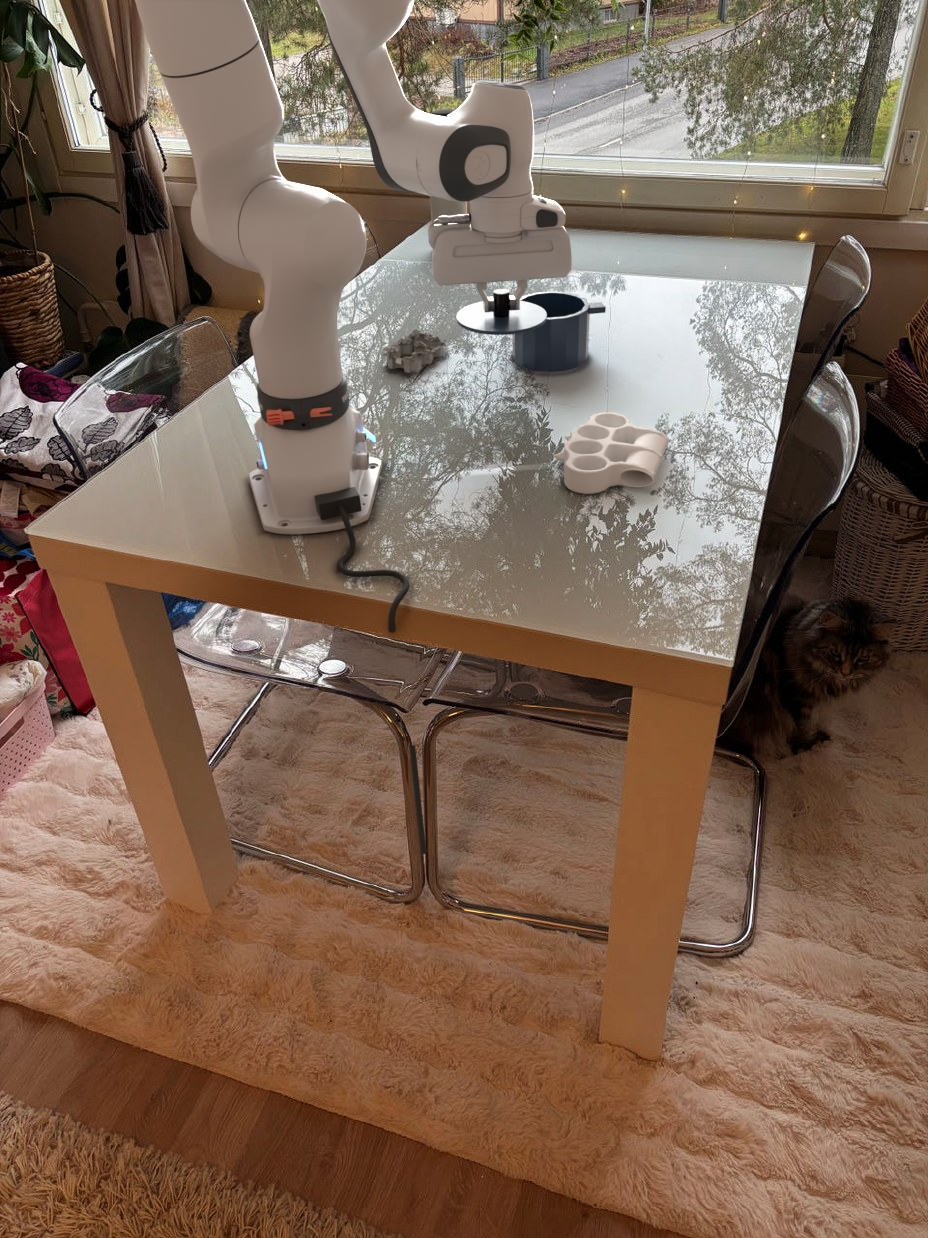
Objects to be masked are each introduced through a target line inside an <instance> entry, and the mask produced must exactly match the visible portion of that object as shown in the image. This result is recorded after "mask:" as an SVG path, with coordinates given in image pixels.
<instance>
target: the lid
mask: <svg viewBox="0 0 928 1238" xmlns="http://www.w3.org/2000/svg"><path fill="white" fill-rule="evenodd" d="M509 296H510V290H509V289H506V288H497V289H494V290H493V291H492V297H493V299H494V308H495V310H494V312H484V309H483V300H482V301H478V302H477V301H476V302H474V303H471V304H468V305H466V306H464V307H461V308H460V309H459V310H458V311H457V312H456V315H455V321H456V323H457V324H458V326H460V327H461V328H462V329H465V330H467V331H470V332H473V333H476V334H481V335H490V336H506V335H507V336H509V335H513V334H518V333H523V332H527V331H531V330H534V329H536V328H538V327H540V326H542V325H543V324H544V323H545V322H546V320H547V313H546V311H545V310H544V309H543V308H542V307H540V306H538V305H536V304H533V303H529V302H525V301H520V310H512V311H510V310H509Z"/></svg>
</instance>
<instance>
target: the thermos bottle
mask: <svg viewBox="0 0 928 1238" xmlns="http://www.w3.org/2000/svg"><path fill="white" fill-rule="evenodd" d="M455 110H456V109H451V108H443V109H442V108H441V109H440V108H439V109H434V110H432V111H431V114H432V115H438V116H444V117H448V116H447V115H449V114H451V113H452V112H454V111H455ZM429 204H430V211H431V212H430V216H431V219H430V220H431V221H430V222H431V223H432V222H433V221H434V220H436V219H438V217H440V216H455V215H462V214H468V201H467V202H455V201H451V200H446V199H442V198H437V197H433V196H429ZM431 223H430V224H431ZM435 224H439V223H438V222H437V223H435Z"/></svg>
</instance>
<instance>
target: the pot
mask: <svg viewBox="0 0 928 1238" xmlns="http://www.w3.org/2000/svg"><path fill="white" fill-rule="evenodd" d="M520 301H525V302H529V303H533V304H536V305H538V306H540V307H542V308H543V309H544V310H545V311H546V313H547V320H546V322H545V323H544V324H543V325H542V326H540V327H538V328H536V329H534V330H531V331H527V332H523V333H518V334H512V359H513V361H514V363H515V364H516V365H518V366H519V367H521V368H522V369H525V370H530V371H533V372H543V373H557V372H566V371H569V370H573V369H577V368H579V367H580V366H582V365H583V364H585V363H586V362H587V359H588V357H589V342H590V341H589V340H590V339H589V338H590V337H589V336H590V316H591V315H595V314H605V313H606V311H607V310H606V308H607V307H606V305H605V303H604V302H603V301H597V302H596V301H595V302H589V300H588V299H587V298H585V297H583V296H582V295H579V294H577V293H572V292H567V291H552V290H549V291H539V292H533V293H529V294H525V295H523V296H522V297H521V299H520Z"/></svg>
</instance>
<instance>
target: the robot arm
mask: <svg viewBox="0 0 928 1238" xmlns="http://www.w3.org/2000/svg"><path fill="white" fill-rule="evenodd" d="M316 1H317V2H318V5H319V7H320V10H321V12H322V14H323V16H324V19H325V27H326V34H327V37H328V40H329V41H328V42H329V44H330V47H331V49H332V52H333V55H334V57H335V60H336V62H337V65H338V67H339V69H340V72H341V74H342V76H343V79H344V80H345V83H346V85H347V88H348V90H349V92H350V95H351V96H352V98H353V101H354V103H355V105H356V108H357V110H358V112H359V114H360V117H361V119H362V122H363V124H364V127H365V129H366V134H367V137H368V141H369V148H370V153H371V158H372V161H373V164H374V167H375V171H376V172H377V174H378V176H379V178H380V179H381V181H382V182H383V183H384V184H385V185H387V187H389V188H390V189H393V190H394V191H398V192H404V193H405V192H407V193H414V194H416V193H417V194H421V195H425V196H429V197H430V196H433V197H437V198H442V199H446V200H451V201H455V202H467V203H468V202H469V213H467V214H462V215H455V216H440V217H438V219H436V220H434V221H433V222H432V223H430V224H429V226H428V231H427V233H428V243H429V246H430V247H431V249H432V255H431V276H432V279H433V281H434V282H435V283H436V284H437V285H438V286H440V287H444V286H458V285H472V284H475V286H474V287H475V288H476V291H477V293H478V294H479V295H480V297H481V299H482V301H483V309H484V312H494V310H495V308H494V299H493V296H487V294H486V292H485V291H486V290H487V289H488V288H487V286H488V285H487V283H488V284H489V283H503V282H514V281H515V284H516V285H517V287H516V290H515V291H514V293H513V295H509V310H510V311H512V310H520V299H521V297H523V296H524V294H525V292H526V290H527V289H528V282H529V280H530V281H531V280H533V281H534V280H544V279H547V280H548V279H559V278H566V277H567V276H568V275H569V274H570V273H571V271H572V266H573V265H572V264H573V262H572V261H573V260H572V259H573V258H572V257H573V255H572V243H571V237H570V234H569V232H568V231H567V230H566V228H565V224H566V213H565V211H564V209H563V207H562V206H561V205H560V204H559V203H558V202H556V201H555V200H553V199H549V198H545V197H542V196H538V195H535V194H534V184H533V179H532V175H531V169H532V162H533V159H534V155H535V152H534V151H535V129H534V113H533V105H532V99H531V97H530V93H529V91H528V90H527V89H526V88H525V87H524V86H522V85H520V84H518V83H511V82H509V83H508V82H502V81H498V80H497V81H496V80H489V79H481V80H479V81H476V82H474V83H472V86H471V90H470V93H469V95H468V96H467V98H466V99H465V100H464V101H463V102H462V104H461V105H459V106H458V108H456V109H454V110H455V111H454V112H452V113H451V114H449V115H447V116H448V117H444V116H438V115H432V113H428V112H424V111H423V110H421V109H420V108H418V107H416V106H414V105H413V104H412V103H410V101H409V100H408V99H407V97H406V96H405V93H404V91H403V88H402V85H401V83H400V80H399V78H398V75H397V73H396V70H395V67H394V65H393V62H392V59H391V58H390V55H389V53H388V49H387V44H386V43H387V42H388V41H389V40H391V38H393V36H394V35H396V34H397V32H398V31H400V29H401V28H402V27H403V25H404V24H405V22H406V21H407V19H408V18H409V17H410V13H411V11H412V9H413V6H414V3H415V0H316ZM134 2H135V6H136V9H137V13H138V16H139V19H140V23H141V26H142V29H143V32H144V36H145V39H146V41H147V43H148V46H149V49H150V52H151V54H152V57H153V59H154V63H155V64H156V67H157V70H158V72H159V75H160V76H161V79H162V81H163V84H164V86H165V88H166V91H167V93H168V96H169V98H170V101H171V103H172V105H173V108H174V110H175V113H176V115H177V117H178V120H179V122H180V125H181V127H182V130H183V132H184V134H185V138H186V140H187V144H188V146H189V149H190V152H191V157H192V162H193V167H194V173H195V179H196V190H195V192H194V195H193V196H192V200H191V205H190V221H191V226H192V229H193V232H194V234H195V237H196V238H197V240H198V241H199V242H200V244H201V245H202V246H203V247H205V248H206V249H207V250H208V251H210V252H211V253H212V254H214V256H217V257H218V258H219V259H221V260H222V261H223V262H225V263H227V264H228V265H231V266H233V267H237V268H240V269H243V270H246V271H248V272H253V273H256V274H258V275H259V276H260V277H261V280H262V282H263V286H264V298H263V309H262V311H260V312H259V313H258V314H256V316H255V317H254V318H253V320H252V321H251V324H250V327H249V338H250V344H251V349H252V355H253V359H254V365H255V369H256V376H257V381H258V383H257V385H256V393H257V394H256V395H257V396H256V398H257V405H258V406H259V411H260V417H259V418H258V419H257V420H256V422H254V424H253V427H254V431H255V437H256V442H257V447H258V452H259V457H260V459H256V462H255V463H256V467H257V468H256V469H254V470H252V471H250V472H249V474H248V482H249V485H250V488H251V492H252V496H253V499H254V503H255V506H256V509H257V512H258V516H259V519H260V523H261V526H262V529H263V531H265V532H267V533H268V532H269V533H273V534H279V535H307V534H318V533H327V532H332V531H339V530H343V529H345V531H346V534H347V537H348V541H349V547H348V550H347V551H346V553H345V554H344V555H342V557H340V558H339V560H338V561H337V563H336V568H337V570H338V572H340V573H341V575H344V576H347V577H351V578H370V577H390V578H395V579H398V580H399V581H400V582H401V583H402V588H401V590H400V591H399V592H398V593H397V595H396V597H395V598H394V600H393V601H392V603H391V606H390V608H389V612H388V619H387V625H388V632H389V633H391V634H393V633H395V632H396V613H397V610H398V607H399V606H400V604H401V602H402V601H403V600H404V598H405V596H407V594H408V592H409V590H410V586H411V585H410V581H409V579H408V578H407V577H406V576H405V575H404V574H403V573H401V572H399V571H396V570H393V569H371V570H352V569H348V568H346V567H345V566H344V564H346V563H347V561H349V560H350V558H352V556H353V555H354V553H355V550H356V545H357V542H356V537H355V533H354V531H353V528H352V527H354V526H357V525H360V524H362V523H364V522H367V521H368V520H369V519H370V516H371V512H372V510H373V505H374V502H375V499H376V495H377V492H378V488H379V484H380V479H381V478H380V476H381V473H382V468H383V462H382V459H380V458H377V457H374V456H370V455H369V452H368V447H367V438H368V439H369V440H370V441H372V443H376V442H377V438H376V435H374V434H373V433H372V432H370V431H369V430H368V429H367V428H365V426H364V419H363V415H362V413H361V412H359V411H358V410H356V409H355V408H354V407H353V406H352V405H351V403H350V395H349V393H350V389H349V384H348V382H347V376H346V374H345V373H344V372H343V370H342V360H341V352H340V341H339V333H338V331H339V330H338V314H339V306H340V302H341V297H342V294H343V291H344V289H345V287H346V286H347V285H348V284H349V283H350V282H351V281H352V280H353V279H354V278H355V277H356V275H358V273H359V271H360V269H361V267H362V265H363V263H364V260H365V256H366V252H367V233H366V227H365V223H364V220H363V219H362V217H361V215H360V213H359V212H358V210H357V209H355V207H354V206H353V205H351V204H350V203H348V202H346V201H345V200H343V199H342V198H340V197H338V196H336V195H335V194H333V193H331V192H329V191H328V190H326V189H324V188H321V187H317V186H312V185H307V184H303V183H298V182H294V181H289V180H287V179H286V178H285V177H284V176H283V174H282V173H281V170H280V168H279V165H278V161H277V157H276V149H275V139H276V138H277V137H278V135H279V133H280V132H281V130H282V128H283V125H284V120H285V110H284V105H283V102H282V100H281V97H280V94H279V90H278V88H277V85H276V81H275V78H274V76H273V73H272V70H271V67H270V64H269V61H268V58H267V55H266V53H265V49H264V46H263V44H262V41H261V38H260V36H259V33H258V29H257V26H256V23H255V21H254V19H253V15H252V13H251V10H250V9H249V8H250V7H249V6H248V3H247V1H246V0H134ZM437 222H438V223H439V224H435V223H437ZM408 749H409V758H410V766H411V767H410V768H411V776H412V784H413V793H414V794H413V795H414V803H415V813H416V820H417V822H416V823H417V829H418V838H419V845H420V852H421V854H422V855H426V854H427V852H428V851H427V843H426V834H425V826H424V814H423V807H422V797H421V786H420V777H419V767H418V758H417V750H416V745H414V744H412V745H408Z"/></svg>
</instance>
